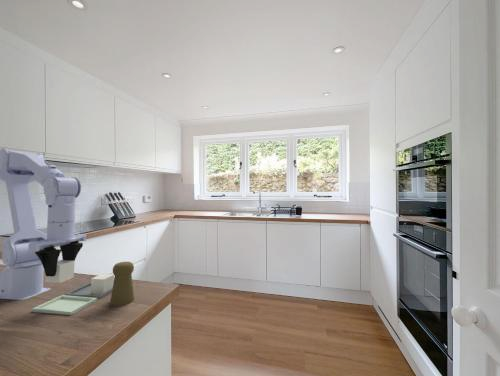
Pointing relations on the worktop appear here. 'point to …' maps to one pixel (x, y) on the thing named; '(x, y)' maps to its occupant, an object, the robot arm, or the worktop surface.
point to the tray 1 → (65, 305)
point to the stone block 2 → (101, 284)
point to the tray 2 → (86, 292)
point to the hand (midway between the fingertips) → (59, 272)
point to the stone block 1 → (62, 272)
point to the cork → (122, 284)
